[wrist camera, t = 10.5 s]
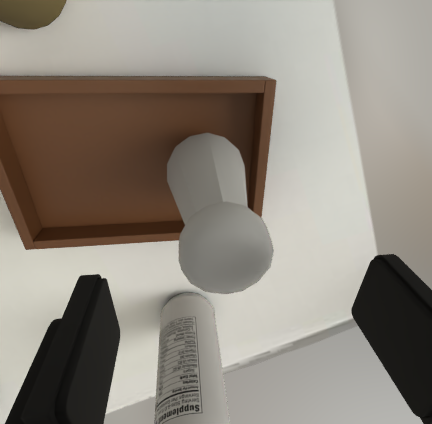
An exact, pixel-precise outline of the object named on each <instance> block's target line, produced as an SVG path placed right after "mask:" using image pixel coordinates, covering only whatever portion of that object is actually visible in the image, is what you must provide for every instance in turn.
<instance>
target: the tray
mask: <svg viewBox="0 0 432 424" xmlns="http://www.w3.org/2000/svg"><path fill="white" fill-rule="evenodd" d="M275 88H276V80H274V79H271V78H268V77H264V76H0V190H1V192H2V194H3V197H4V199H5V202H6V204H7V206H8V209H9V211H10V213H11V216H12V218H13V221H14V223H15V225H16V228H17V230H18V233H19V235H20V237H21V240H22V242H23V244H24V247H25V249H26V250H29V249H47V248H62V247H78V246H94V245H110V244H126V243H142V242H158V241H174V240H179V238H180V234H181V232H182V230H183V228H184V227H185V224H184V221H183V219H182V217H181V214H180V212H179V209H178V207H177V204H176V202H175V199H174V197H173V194H172V192H171V189H170V187H169V184H168V182H167V163H168V161H169V159H170V157H171V155H172V153H173V150H174V148H175V147H176V146H177V145H179V144H180V143H181V142H183V141H184V140H185V139H187V138H188V137H189V136H193V135H198V134H203V133H210V134H214V135H218V136H222V137H225V138H226V139H227V140H228V141H229V142H230V143H232V144H233V145H234V146H235V147H236V148H237V149H238V150H239V152H240V155H241V157H242V160H243V163H244V166H245V179H246V192H247V205H248V208H249V209H250V210H252V211H253V212H254V213H256V214H257V215H258V216H260V217H261V216H262V207H263V198H264V189H265V180H266V171H267V161H268V152H269V143H270V134H271V125H272V116H273V107H274V97H275Z"/></svg>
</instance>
